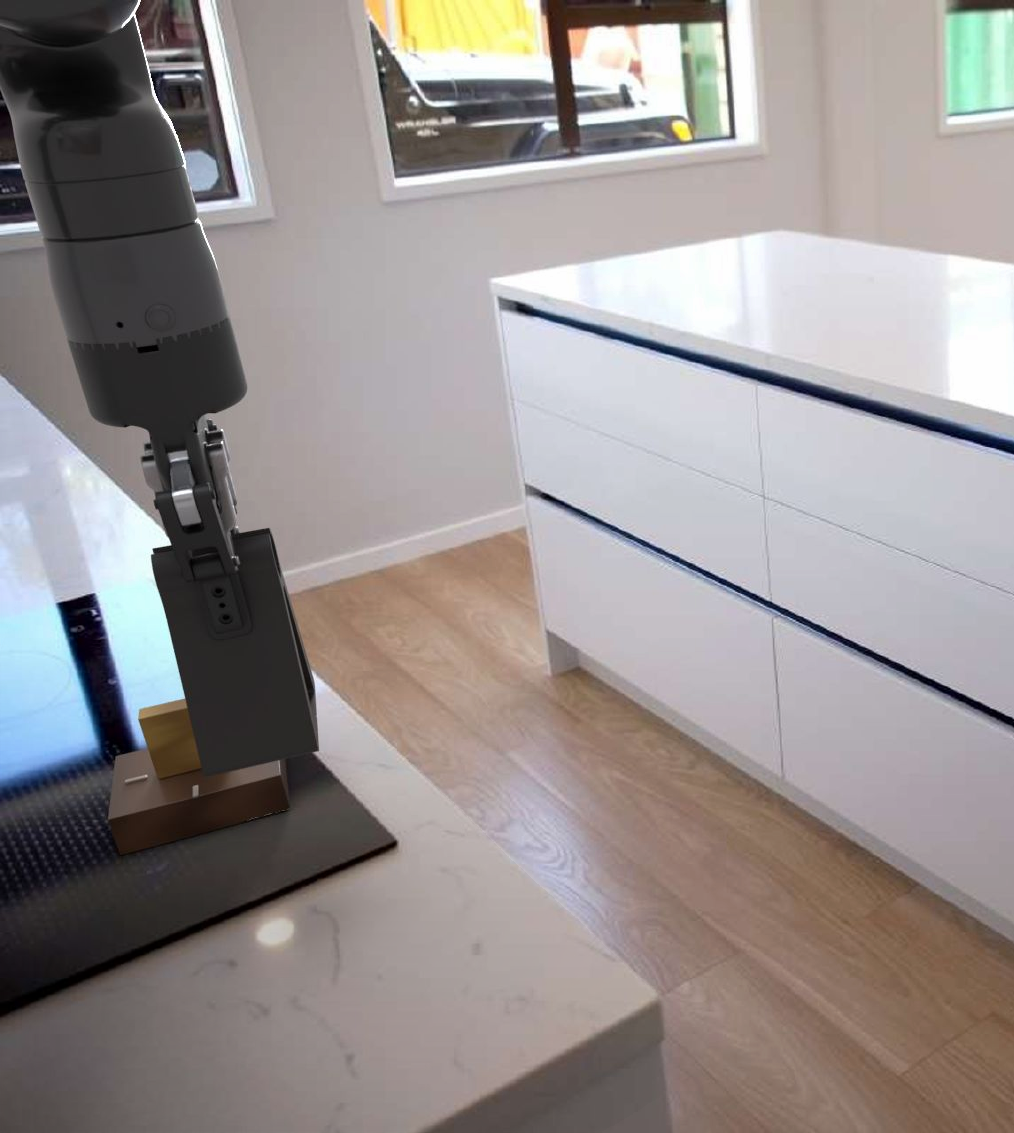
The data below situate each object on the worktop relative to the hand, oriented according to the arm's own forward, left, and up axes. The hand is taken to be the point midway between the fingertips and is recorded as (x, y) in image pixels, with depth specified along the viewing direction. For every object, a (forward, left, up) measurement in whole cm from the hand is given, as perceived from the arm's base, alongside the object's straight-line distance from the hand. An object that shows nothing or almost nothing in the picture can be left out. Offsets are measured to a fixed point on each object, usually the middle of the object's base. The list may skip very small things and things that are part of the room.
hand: (232, 619), depth 73 cm
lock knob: (-6, +18, -18) cm, 26 cm away
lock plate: (-6, +18, -21) cm, 29 cm away
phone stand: (0, 0, -7) cm, 7 cm away
